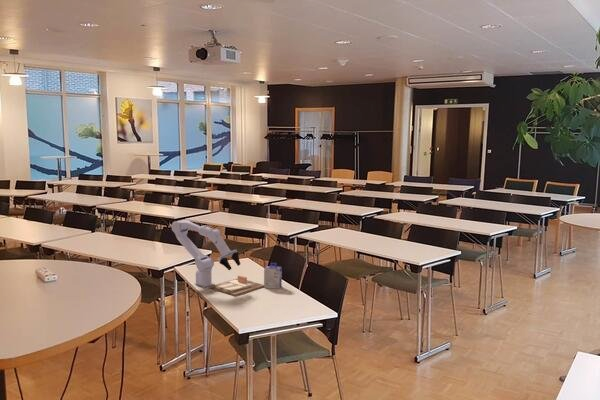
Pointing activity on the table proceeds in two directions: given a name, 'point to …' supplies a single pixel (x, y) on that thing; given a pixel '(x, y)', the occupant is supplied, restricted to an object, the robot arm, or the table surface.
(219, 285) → the board
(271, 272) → the ink cartridge box
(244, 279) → the stub
